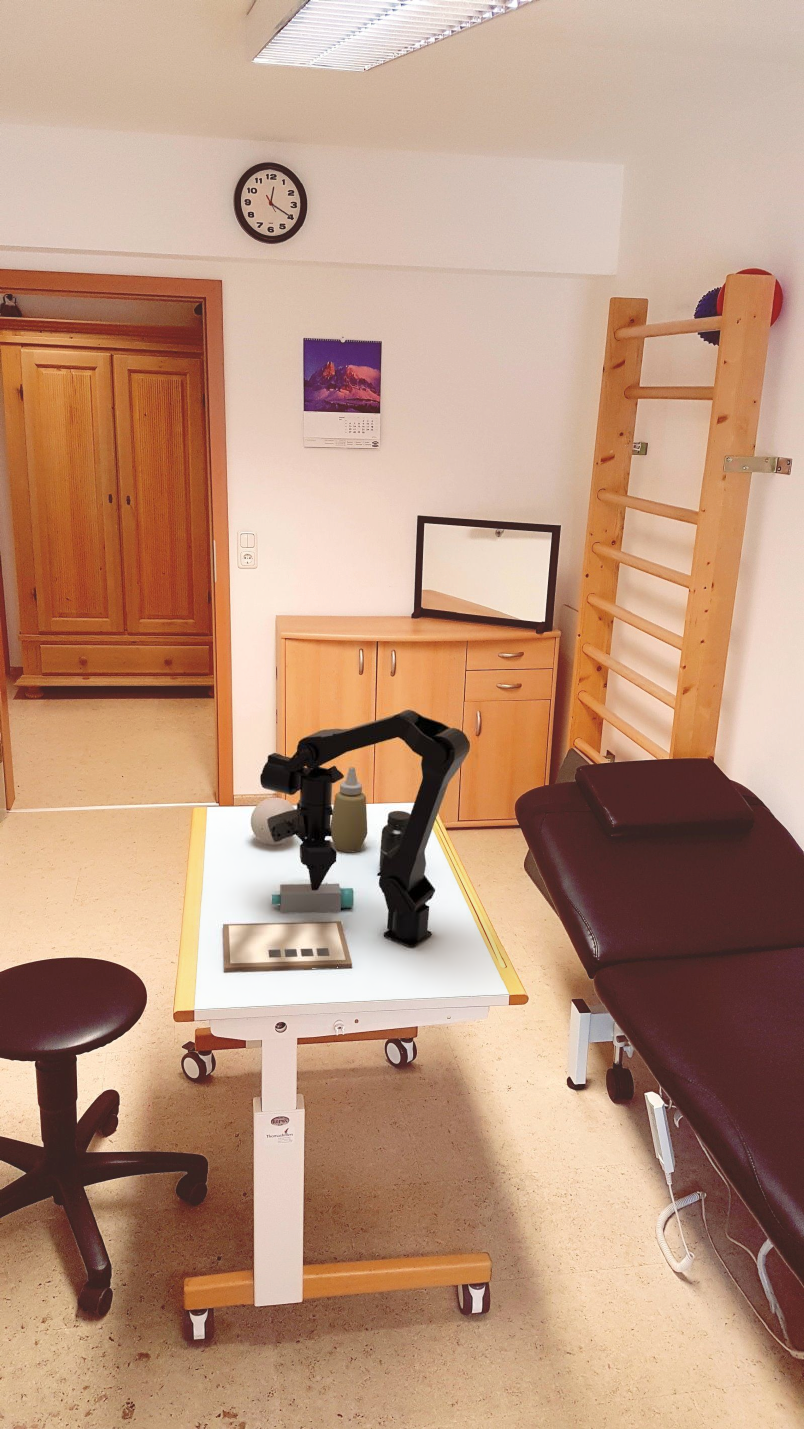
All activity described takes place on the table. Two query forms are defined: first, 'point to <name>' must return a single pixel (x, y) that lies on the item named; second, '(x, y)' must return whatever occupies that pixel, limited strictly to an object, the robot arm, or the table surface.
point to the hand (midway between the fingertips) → (312, 879)
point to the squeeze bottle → (349, 815)
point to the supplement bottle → (393, 832)
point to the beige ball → (266, 811)
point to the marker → (313, 898)
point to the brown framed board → (284, 946)
